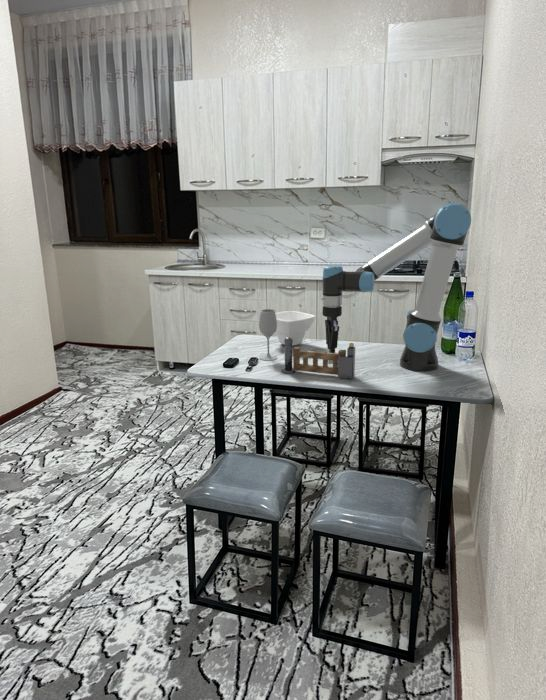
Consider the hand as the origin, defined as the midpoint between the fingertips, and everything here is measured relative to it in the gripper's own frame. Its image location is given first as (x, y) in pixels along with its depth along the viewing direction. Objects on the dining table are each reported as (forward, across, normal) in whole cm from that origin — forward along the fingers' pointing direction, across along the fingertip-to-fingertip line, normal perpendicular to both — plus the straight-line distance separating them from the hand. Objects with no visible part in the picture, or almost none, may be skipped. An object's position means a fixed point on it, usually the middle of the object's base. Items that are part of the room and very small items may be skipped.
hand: (331, 363), depth 210 cm
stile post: (+2, +12, +3) cm, 13 cm away
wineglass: (+2, -19, -23) cm, 30 cm away
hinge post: (+2, 0, -18) cm, 18 cm away
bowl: (+2, -39, -9) cm, 40 cm away
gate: (+1, +6, -7) cm, 9 cm away
